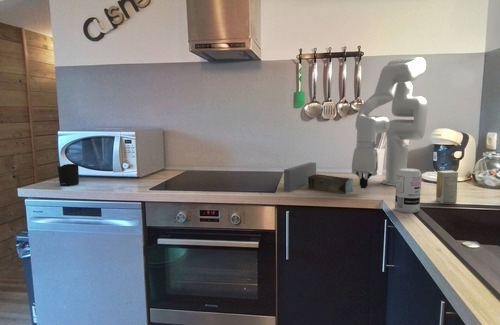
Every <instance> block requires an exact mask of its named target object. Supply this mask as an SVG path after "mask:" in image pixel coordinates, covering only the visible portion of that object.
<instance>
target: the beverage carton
mask: <svg viewBox="0 0 500 325" xmlns="http://www.w3.org/2000/svg"><path fill="white" fill-rule="evenodd" d="M353 180H354V179H353V178H350V177H341V176H336V175H335V176H333V175H326V174H320V173H316V174H315V175H312V176H309V177H308V185H307V187H308V189H309V190H313V191H314V190H316V191H323V192H329V193H337V194H342V195H343V194H345V195H347V194H350V192H353V189H354V188H353V186H354V185H353V184H354V181H353Z"/></svg>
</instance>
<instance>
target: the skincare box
mask: <svg viewBox="0 0 500 325" xmlns="http://www.w3.org/2000/svg"><path fill="white" fill-rule="evenodd" d="M458 178H459V172H458V171H456V170H437V172H436V190H435V191H436V192H435V193H436V194H435V201H437V202H439V203H441V204H443V203H442V202H449V203H457V197H458V196H457V195H458Z"/></svg>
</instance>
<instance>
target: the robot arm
mask: <svg viewBox="0 0 500 325" xmlns="http://www.w3.org/2000/svg"><path fill="white" fill-rule="evenodd" d="M426 67H427V63H426V60H425V59H424V58H423V57H422V56H421V57H420V56H417V57H408V58H398V59H392V60H390V61H389V62H388V63H387V64H386V65H385V66H383V68H382V69H381V71H380V74H379V78H378V81H377V85H376V87H375V90H374V93H373V94H372V95H371V96H370V97H368V98H367V99H366V101H364V102H363V103H362V104H361V106H360V107H359V110H358V113H357V116H356V119H355V129H356V147H355V148H354V150H353V155H352V159H351V160H352V161H351V163H352V164H351V174H354V175H356V176H357V177H358V179H359V186H360V189H367V187H368V185H369V179H370V178H371V177H375V176H377V175H378V169H379V156H378V155H379V154H378V149H377V147H379V143H376V134H385V136H386V158H385V178H384V179H382V180H381V183H382V184H383V185H387V186H395V187H396V176H397V172H398V170H399V169H401V168H408V154H409V153H408V152H409V151H408V150H409V149H408V145H407V143H406V142H405V140H406V141H407V140H409V141H419V140H421V139H423V137H424V135H425V132H426V127H427V126H426V124H427V117H428V107H429V106H428V101H427V99H426V98H425V97H423V96H413V91H414V88H413V84H412V82H413V81H416V80H417V79H418V78H420V77H421V76H422V75H424V73H425V70H426ZM390 102H391V114H392V116H395V117H398V118H413V119H391V120H389V118H387V117H386V116H382V115H371V113H372V112H373V111H374V110H375V109H377V108H380V107H381V106H383V105H386V104H388V103H390Z"/></svg>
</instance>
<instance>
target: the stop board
mask: <svg viewBox="0 0 500 325" xmlns="http://www.w3.org/2000/svg"><path fill="white" fill-rule="evenodd" d="M315 174H317V162H315V161H314V162H312V161H311V162H308V163H303V164H300V165H297V166H291V167H288V168H285V169H283V192H284V193H291V192H294V191H296V190H299V189H302V188H304V187H306V186H307V187H308V177H309V176H312V175H315Z"/></svg>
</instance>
